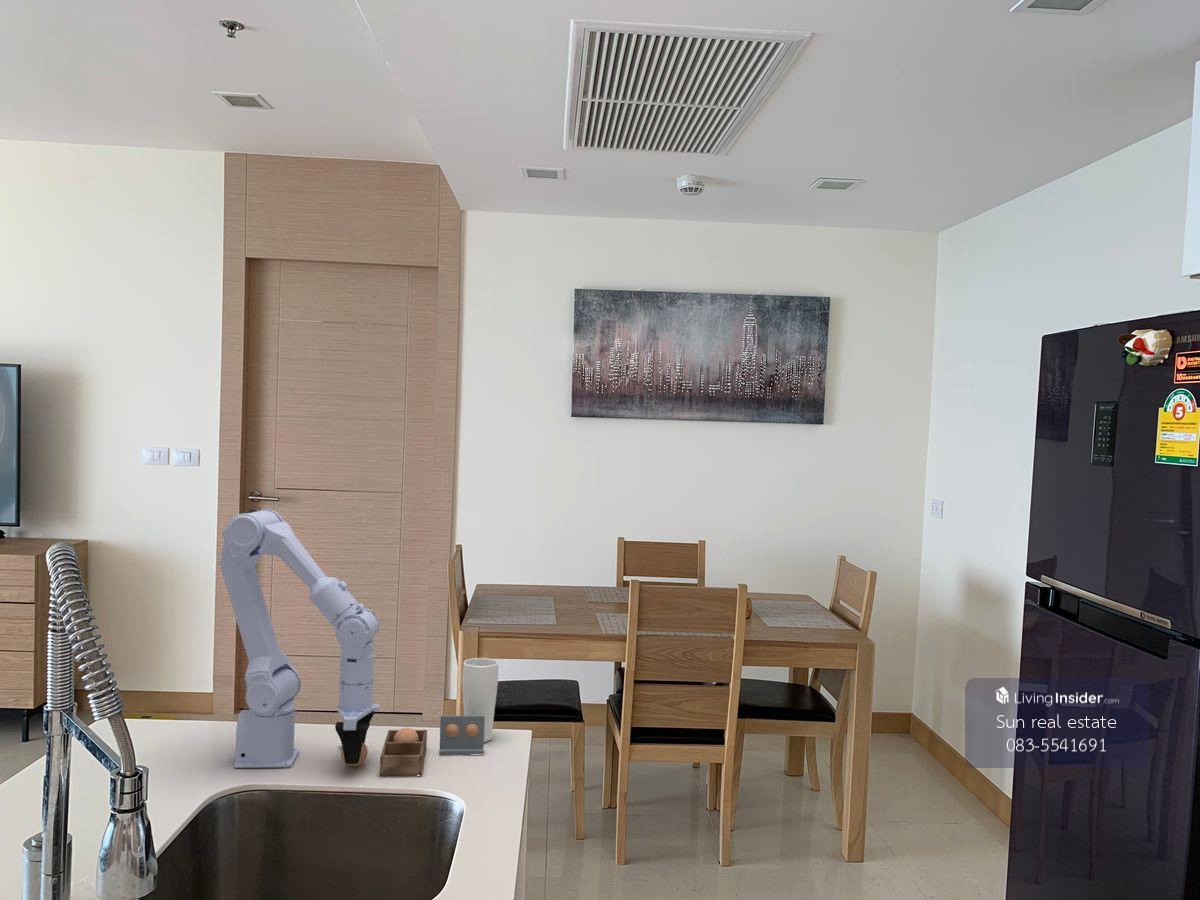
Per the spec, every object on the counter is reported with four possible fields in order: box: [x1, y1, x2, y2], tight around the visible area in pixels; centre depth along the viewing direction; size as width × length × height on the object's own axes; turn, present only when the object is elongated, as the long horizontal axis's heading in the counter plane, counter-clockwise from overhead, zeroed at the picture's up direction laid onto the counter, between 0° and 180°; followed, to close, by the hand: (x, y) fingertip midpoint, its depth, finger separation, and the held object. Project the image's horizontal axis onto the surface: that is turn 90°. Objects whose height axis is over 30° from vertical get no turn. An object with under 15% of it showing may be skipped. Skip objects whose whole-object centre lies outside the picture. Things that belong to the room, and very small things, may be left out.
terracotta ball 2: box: [393, 727, 419, 742], centre depth 166 cm, size 4×4×4 cm
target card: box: [438, 714, 485, 756], centre depth 168 cm, size 8×3×7 cm, turn 97°
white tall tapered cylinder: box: [461, 657, 499, 743], centre depth 176 cm, size 7×7×15 cm
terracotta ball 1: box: [340, 743, 369, 768], centre depth 160 cm, size 4×4×4 cm
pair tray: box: [379, 729, 428, 777], centre depth 163 cm, size 7×14×4 cm, turn 7°
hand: (354, 757), depth 160 cm, fingers closed on terracotta ball 1, 4 cm apart
